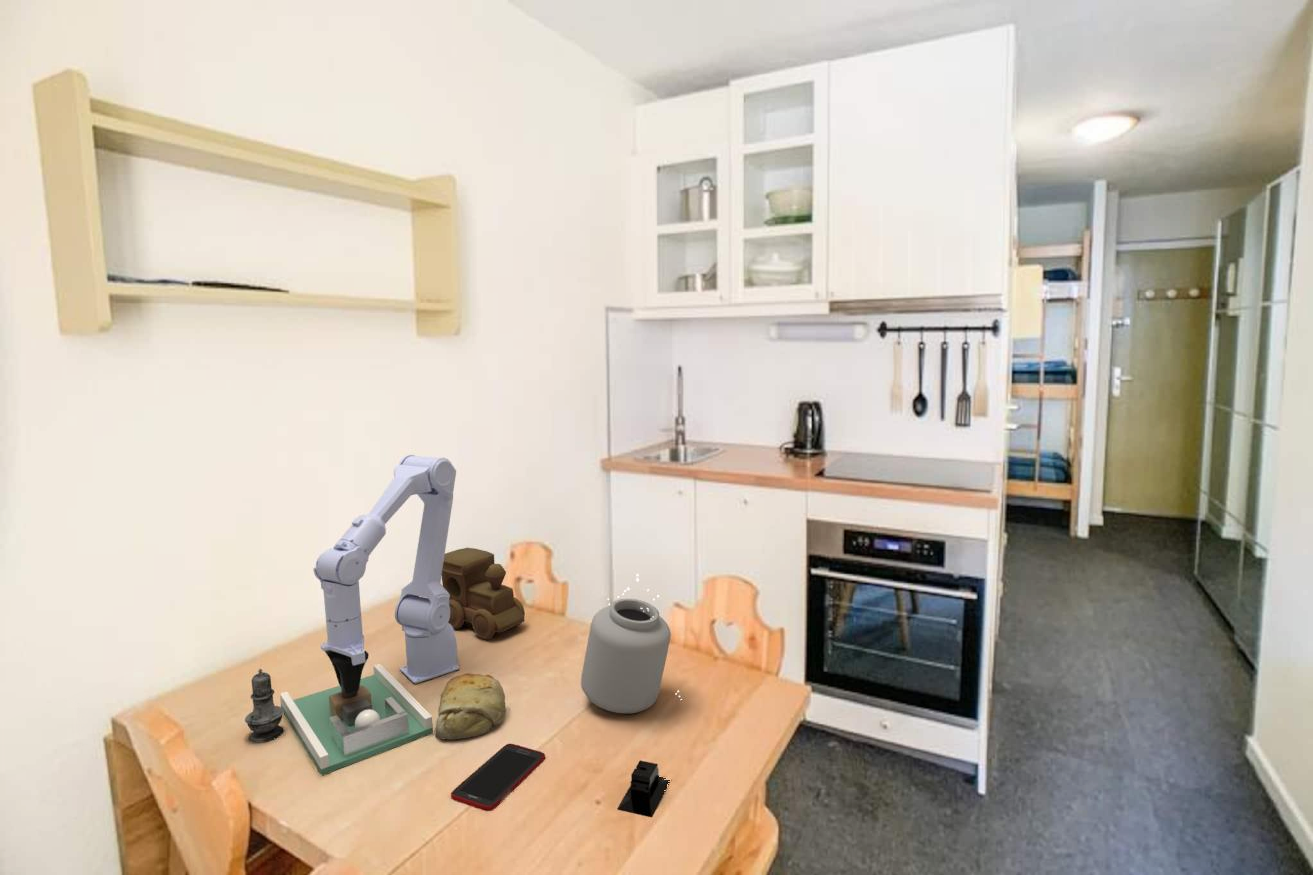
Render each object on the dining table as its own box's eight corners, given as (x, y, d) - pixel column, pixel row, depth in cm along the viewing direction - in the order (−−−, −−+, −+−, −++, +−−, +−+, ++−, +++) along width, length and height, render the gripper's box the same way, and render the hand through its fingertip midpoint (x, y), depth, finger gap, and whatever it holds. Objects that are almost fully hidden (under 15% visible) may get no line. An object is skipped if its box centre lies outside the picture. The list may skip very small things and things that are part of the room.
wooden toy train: (435, 625, 166) (431, 557, 164) (473, 609, 176) (470, 545, 173) (493, 645, 155) (490, 573, 153) (530, 627, 164) (528, 559, 162)
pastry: (485, 694, 134) (483, 654, 133) (523, 718, 126) (521, 676, 125) (416, 723, 125) (413, 681, 123) (452, 752, 116) (449, 706, 115)
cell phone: (547, 758, 114) (547, 752, 114) (490, 814, 101) (490, 808, 101) (508, 747, 117) (508, 741, 117) (448, 800, 104) (448, 794, 104)
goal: (392, 715, 125) (391, 696, 125) (408, 733, 119) (407, 714, 119) (330, 736, 118) (329, 717, 118) (344, 757, 113) (343, 737, 112)
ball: (384, 716, 118) (383, 734, 120) (375, 701, 121) (375, 719, 123) (359, 725, 116) (358, 743, 117) (351, 709, 119) (351, 727, 120)
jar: (692, 693, 134) (692, 567, 130) (662, 733, 120) (661, 594, 117) (604, 675, 141) (601, 555, 137) (566, 711, 128) (562, 579, 124)
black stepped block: (637, 768, 112) (637, 741, 111) (681, 777, 109) (681, 749, 109) (607, 819, 100) (606, 789, 100) (655, 830, 98) (654, 800, 97)
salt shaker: (268, 745, 118) (261, 678, 116) (238, 741, 119) (231, 675, 117) (293, 726, 124) (287, 662, 122) (264, 723, 125) (258, 659, 123)
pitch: (380, 677, 141) (379, 663, 140) (433, 732, 121) (432, 716, 121) (281, 708, 129) (279, 693, 129) (321, 775, 110) (320, 757, 109)
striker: (364, 700, 130) (361, 659, 129) (377, 715, 125) (374, 673, 123) (330, 711, 126) (326, 669, 125) (342, 727, 121) (338, 684, 120)
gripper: (307, 609, 127) (314, 680, 129) (331, 635, 116) (338, 712, 118) (348, 599, 131) (353, 668, 133) (375, 623, 120) (380, 698, 122)
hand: (349, 688), depth 126 cm, fingers closed on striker, 2 cm apart
